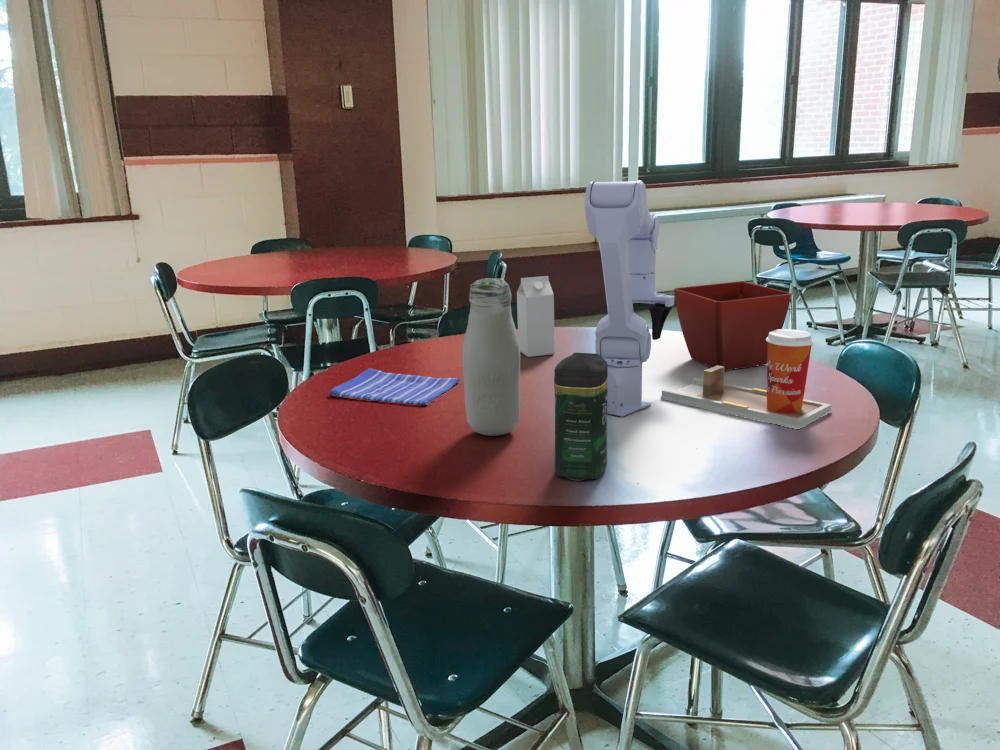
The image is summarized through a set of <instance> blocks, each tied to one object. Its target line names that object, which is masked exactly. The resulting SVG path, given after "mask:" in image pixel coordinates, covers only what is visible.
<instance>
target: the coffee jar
mask: <svg viewBox="0 0 1000 750" xmlns="http://www.w3.org/2000/svg"><path fill="white" fill-rule="evenodd" d="M607 367H608V364H607V362H606V360H605V359H603V358H602V357H600V356H599V354H596V353H593V352H592V353H590V352H589V353H588V352H573V353H572V354H571V355H569V356H566V357H565V358H563V359H562V360H561V361H559V362H558V363H557V365H556V366H555V367H554V369H553V371H554V374H553V375H554V376H553V377H554V379H553V383H554V384H553V385H554V390H553V391H554V471H555V474H556V475H557V476H559V477H563V478H565V479H567V480H571V481H577V482H578V481H579V482H581V481H584V480H593V479H594V480H595V479H598V478H600V477H601V476H602V475H603V473H604V472H605V469H606V468H607V464H608V413H607V395H608V368H607Z"/></svg>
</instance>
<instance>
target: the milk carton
mask: <svg viewBox="0 0 1000 750" xmlns="http://www.w3.org/2000/svg"><path fill="white" fill-rule="evenodd" d="M549 280H550V278H549V275H546V276H545V275H544V276H543V275H542V276H534V277H532V276H530V277H521V278H520V283H519V286H518V289H517V291H516V307H517V309H516V311H517V312H516V313H517V335H518V339H519V345H520V354H523V355H525V356H526V358H529V357H530V358H531V357H541V356H550V355H555V354H556V353H555V350H556V347H555V344H556V343H555V298H554V295H555V294H554V291H553V289H552V285H551V283H550V281H549Z"/></svg>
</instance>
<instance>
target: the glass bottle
mask: <svg viewBox="0 0 1000 750" xmlns="http://www.w3.org/2000/svg"><path fill="white" fill-rule="evenodd" d="M508 283H509V282H506V280H504V279H501V278H497V277H486V278H480V279H478V280H477V279H476V280H475V281H474V282H473V283H471V284H470V285H469V287H470V288H469V295H468V302H469V304H470V309H469V314H468V321H467V326H466V331H465V333H464V336H463V337H464V338H463V343H462V344H463V345H462V353H461V354H462V356H461V357H462V373H463V377H462V378H463V389H464V390H463V391H464V407H465V417H466V420H467V422H468V425H469V426H470V428H471V429H472V430H473V431H475V432H476V433H478V434H480V435H482V436H483V435H484V436H490V437H497V436H502V435H507V434H508V433H510V432H512V431H513V430H514V429H515V428H516V427H517V424H518V421H519V419H520V413H521V352H520V345H519V339H518V331H517V329H516V325H515V322H514V318H513V315H512V306H511V303H512V291H511V288H510V285H509V284H508Z"/></svg>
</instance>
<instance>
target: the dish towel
mask: <svg viewBox="0 0 1000 750" xmlns="http://www.w3.org/2000/svg"><path fill="white" fill-rule="evenodd" d="M459 382H460V377H455V378H454V377H448V378H447V377H445V378H442V377H437V378H436V377H431V376H421V375H417V374H416V375H415V374H414V375H411V374H402V373H392V372H384V371H382V370H379V369H373V368H372V367H369V368H368V369H365V370H363V372H361V373H360V374H359V375H357V376H355V377H353V378H351V379H349V380H347V381H346V382H343V383H341V384H339V385H337V386H335V387H333V388H332V389H330V391H328V392H329V393H328V395H329V394H330V395H337V396H340V397H349V398H356V399H365V400H375V401H385V402H386V401H387V402H397V403H406V404H416V405H427V404H428V403H430V402H431V401H433V400H434V399H436V398H438V397H439V396H441V395H442V394H444V393H446V392H447V391H449V390H450V389H452V388H453V387H455V386H457V385H458V384H460V383H459ZM330 395H329V396H330Z"/></svg>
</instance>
